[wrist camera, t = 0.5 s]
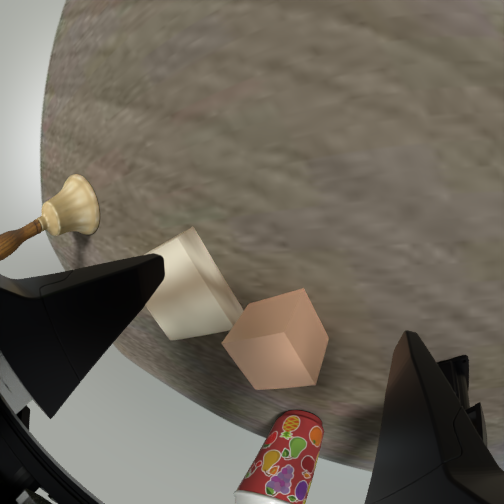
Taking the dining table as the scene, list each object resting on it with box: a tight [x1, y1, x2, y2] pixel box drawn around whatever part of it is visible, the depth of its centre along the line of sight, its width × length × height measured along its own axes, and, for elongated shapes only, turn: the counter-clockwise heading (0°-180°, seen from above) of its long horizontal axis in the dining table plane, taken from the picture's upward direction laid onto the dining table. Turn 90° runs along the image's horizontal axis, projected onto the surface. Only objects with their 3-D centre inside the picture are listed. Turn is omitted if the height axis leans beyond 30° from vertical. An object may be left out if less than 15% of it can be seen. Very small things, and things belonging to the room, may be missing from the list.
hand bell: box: [0, 174, 100, 261], centre depth 25 cm, size 8×8×16 cm
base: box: [144, 227, 244, 341], centre depth 29 cm, size 10×10×3 cm
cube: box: [222, 288, 329, 390], centre depth 24 cm, size 6×6×6 cm
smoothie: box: [234, 410, 324, 504], centre depth 25 cm, size 8×8×20 cm
